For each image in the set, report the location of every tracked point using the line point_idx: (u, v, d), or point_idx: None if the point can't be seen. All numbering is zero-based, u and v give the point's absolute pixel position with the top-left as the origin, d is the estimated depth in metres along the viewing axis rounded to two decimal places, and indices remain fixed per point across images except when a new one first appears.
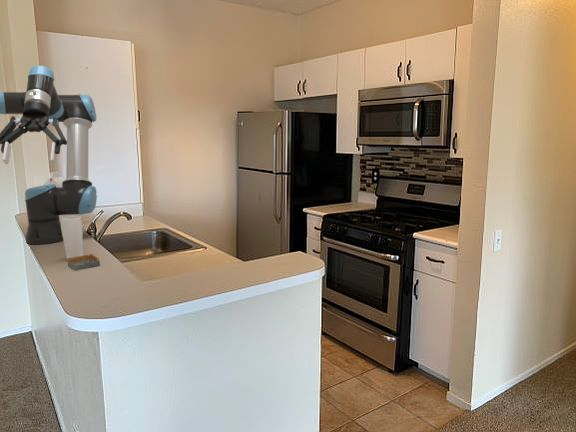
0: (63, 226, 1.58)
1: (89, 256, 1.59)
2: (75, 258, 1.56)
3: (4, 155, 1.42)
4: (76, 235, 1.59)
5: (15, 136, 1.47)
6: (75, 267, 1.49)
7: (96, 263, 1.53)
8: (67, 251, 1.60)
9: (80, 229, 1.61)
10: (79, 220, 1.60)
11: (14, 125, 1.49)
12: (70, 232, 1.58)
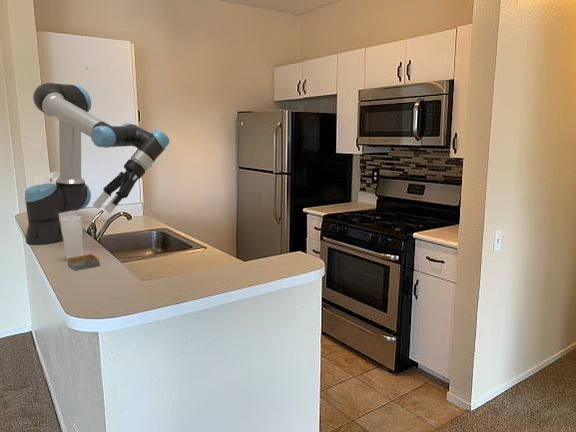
0: (63, 226, 1.58)
1: (89, 256, 1.59)
2: (75, 258, 1.56)
3: None
4: (76, 235, 1.59)
5: None
6: (75, 267, 1.49)
7: (96, 263, 1.53)
8: (67, 251, 1.60)
9: (80, 229, 1.61)
10: (79, 220, 1.60)
11: None
12: (70, 232, 1.58)
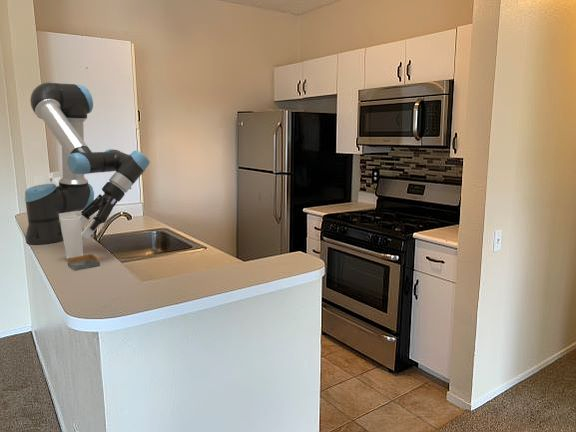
0: (63, 226, 1.58)
1: (89, 256, 1.59)
2: (75, 258, 1.56)
3: None
4: (76, 235, 1.59)
5: None
6: (75, 267, 1.49)
7: (96, 263, 1.53)
8: (67, 251, 1.60)
9: (80, 229, 1.61)
10: (79, 220, 1.60)
11: None
12: (70, 232, 1.58)
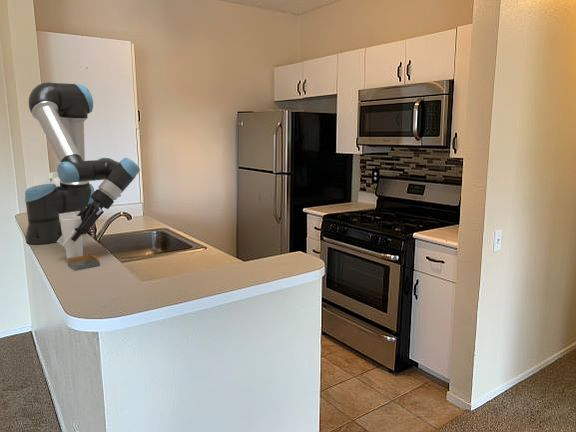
0: (63, 226, 1.58)
1: (89, 256, 1.59)
2: (75, 258, 1.56)
3: None
4: None
5: None
6: (75, 267, 1.49)
7: (96, 263, 1.53)
8: (67, 251, 1.60)
9: None
10: (79, 220, 1.60)
11: None
12: (70, 232, 1.58)
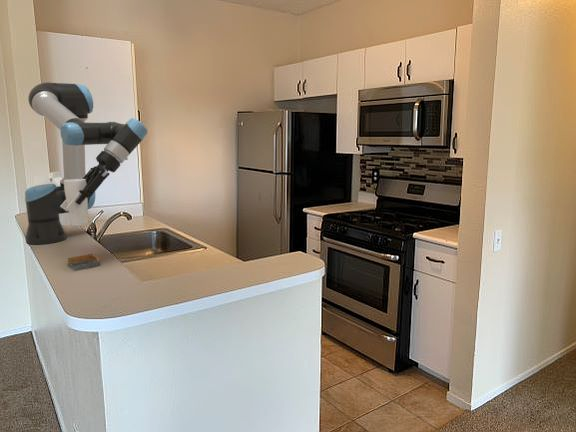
0: (67, 188, 1.48)
1: (89, 256, 1.59)
2: (75, 258, 1.56)
3: None
4: None
5: None
6: (75, 267, 1.49)
7: (96, 263, 1.53)
8: (71, 215, 1.50)
9: None
10: (84, 182, 1.50)
11: None
12: (74, 195, 1.48)
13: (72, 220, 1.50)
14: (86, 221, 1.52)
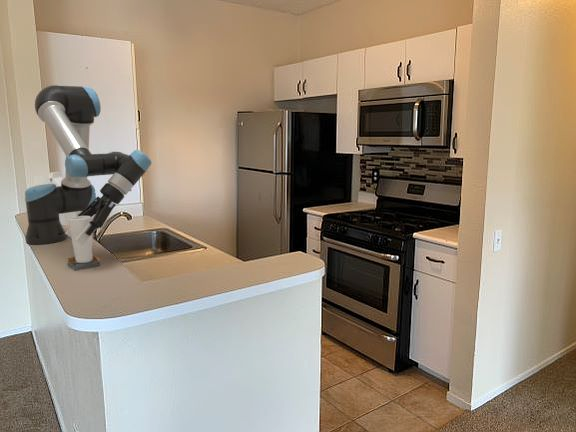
0: (72, 227, 1.49)
1: None
2: None
3: None
4: None
5: None
6: (75, 267, 1.49)
7: (96, 263, 1.53)
8: (76, 253, 1.51)
9: None
10: (89, 220, 1.51)
11: None
12: (79, 233, 1.49)
13: (77, 257, 1.51)
14: (91, 258, 1.53)
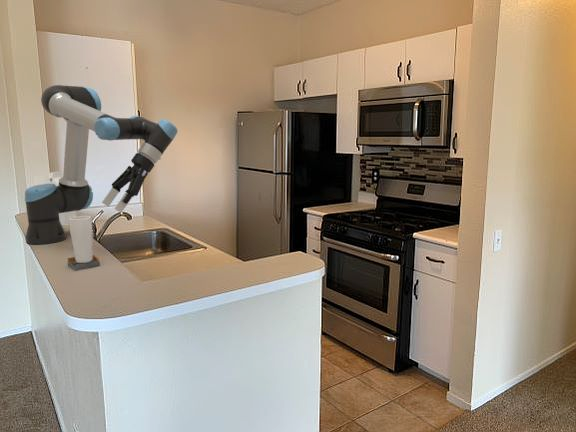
0: (72, 227, 1.49)
1: None
2: None
3: None
4: (86, 236, 1.50)
5: None
6: (75, 267, 1.49)
7: (96, 263, 1.53)
8: (76, 253, 1.51)
9: (90, 230, 1.51)
10: (89, 220, 1.51)
11: None
12: (80, 233, 1.49)
13: (77, 257, 1.51)
14: (91, 258, 1.53)
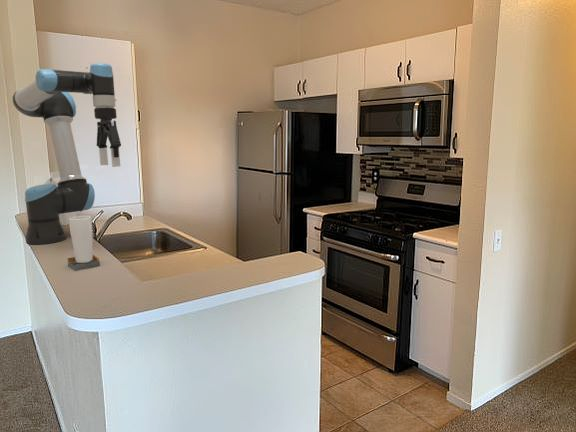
0: (72, 227, 1.49)
1: None
2: None
3: None
4: (86, 236, 1.50)
5: None
6: (75, 267, 1.49)
7: (96, 263, 1.53)
8: (76, 253, 1.51)
9: (90, 230, 1.51)
10: (89, 220, 1.51)
11: None
12: (80, 233, 1.49)
13: (77, 257, 1.51)
14: (91, 258, 1.53)
